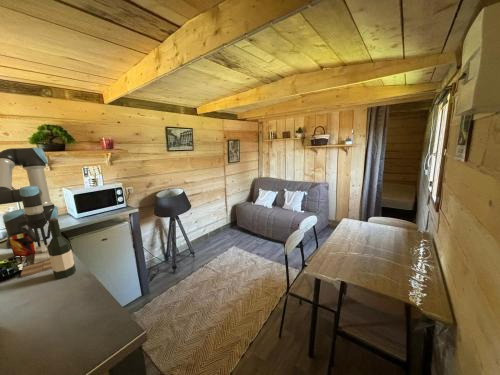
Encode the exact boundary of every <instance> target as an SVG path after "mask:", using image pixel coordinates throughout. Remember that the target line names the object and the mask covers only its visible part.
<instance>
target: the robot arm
mask: <svg viewBox="0 0 500 375" xmlns="http://www.w3.org/2000/svg"><path fill="white" fill-rule="evenodd" d="M48 164H49V161H48V158H47V156H46V154H45V151H44V149H42V147H20V148H19V147H17V148H16V147H15V148H14V147H13V148H12V147H11V148H6V149H3V150H2V151H0V206H1V205H7V204H13V203H14V204H15V203H22V205H23V208H20V209H16V210H12V211H8V212H6V213H4V214H3V215H2V219H3V224H4V226H5V230H6V235H7V239H6V243H5V244H6V245H5V246H6V248H7V249H12V247H11V244H10V240H9V238H10V237H12V236H15V235H18V234H23V233H27V235H28V236H29V238H30V239H31V240H32V242H35V243H37V246H38V247H41V249H42V252H45V251H46V247H45V245H47V243H48V241H47V240H48V239H50V238H51V231H50V226H49V220H50V219H52V218H56V219H57V220H58V221H59V208H58V206H57V205H55V203H53V202H51V196H50V193H49V192H50V191H49V188H48V183H47V179H46V173H45V168H46V167H47V165H48ZM17 166H18V167H19V166H21V167H22V169H24V170H25V171H26V173H27V174H26V175H27V178H28V182H29V185H27V186H22V187H20V188H16V189H12V186H13V184H12V183H13V169H14V168H15V167H17ZM46 225H47V226H48V227H47V234H46V233H45V226H46ZM39 230H40V233H41V237H42V239H40V234H39Z"/></svg>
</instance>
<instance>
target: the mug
mask: <svg viewBox="0 0 500 375" xmlns="http://www.w3.org/2000/svg"><path fill="white" fill-rule="evenodd" d="M9 240H10V244H11V247H12V248H11V250H12V255H13V257H14V256H20V257H21V256H26V257H30V256H32V255H33V256H35V249H36V246H37V245H36V242H32V240H31V239H30V238H29V236H28V235H27V233H23V234H18V235H15V236H12V237H10V238H9Z"/></svg>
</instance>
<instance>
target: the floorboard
mask: <svg viewBox="0 0 500 375" xmlns="http://www.w3.org/2000/svg"><path fill="white" fill-rule="evenodd" d="M49 270H53V269H52V265H51V261H50V260H46V261H43V262H39V263H36V264H34V263H32V264H29V265H25V266H23V267H22V270H21V272H20V278H26V277H28V276H32V275H36V274H39V273H42V272H45V271H49Z"/></svg>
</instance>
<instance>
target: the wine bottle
mask: <svg viewBox="0 0 500 375" xmlns="http://www.w3.org/2000/svg"><path fill="white" fill-rule="evenodd" d="M49 226H50V236H51V239H50V241H49V242H48V243H49V245H48V247H47V249H48V253H49V257H50V261H51V265H52V269H51V270H52V273H53V277H54V278H55V279H56V280H62V279H66V278H69V277H71V276H73V275H74V274H75V273H76V271H77V270H76V265H75V264H76V263H75V260H74V256H73V250H72V246H71V242H70V240H68V239H67V238H66V237H64V236H63V235H62V232H61V228H60V223H59V219H58V220H57V219H56V218H52V219H50V220H49Z"/></svg>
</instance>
